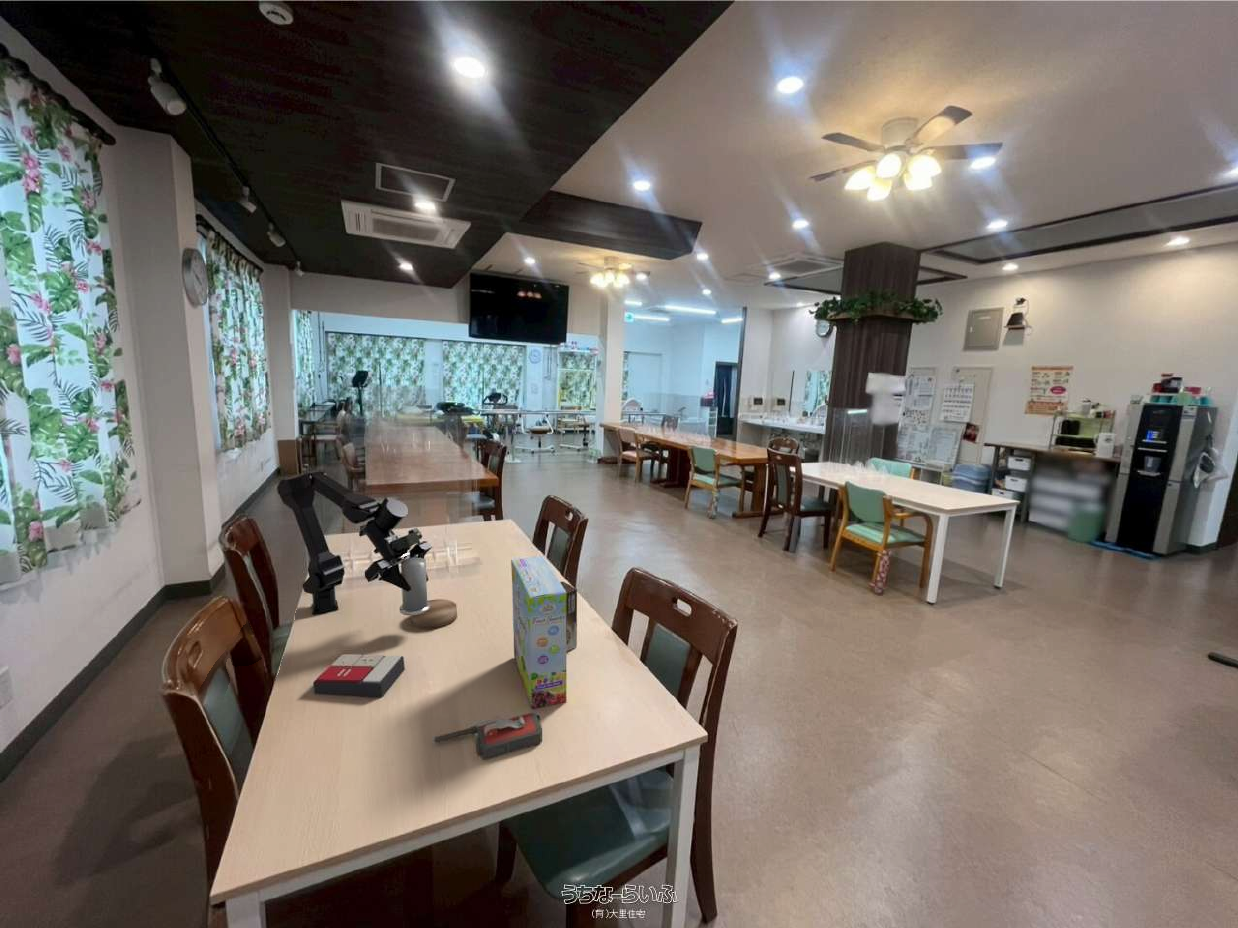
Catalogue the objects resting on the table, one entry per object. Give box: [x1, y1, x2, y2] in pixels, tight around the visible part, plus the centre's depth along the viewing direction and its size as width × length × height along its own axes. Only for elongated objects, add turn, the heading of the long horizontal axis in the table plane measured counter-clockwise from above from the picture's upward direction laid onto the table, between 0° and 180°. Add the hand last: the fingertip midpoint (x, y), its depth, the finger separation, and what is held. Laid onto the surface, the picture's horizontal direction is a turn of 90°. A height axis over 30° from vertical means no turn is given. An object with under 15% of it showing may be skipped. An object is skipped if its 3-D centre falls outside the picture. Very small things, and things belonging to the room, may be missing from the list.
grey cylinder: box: [399, 558, 431, 616], centre depth 135 cm, size 8×8×13 cm
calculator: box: [312, 654, 406, 699], centre depth 115 cm, size 11×4×15 cm
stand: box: [410, 598, 458, 630], centre depth 144 cm, size 12×12×3 cm
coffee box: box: [559, 581, 578, 652], centre depth 130 cm, size 9×6×16 cm
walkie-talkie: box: [434, 712, 543, 761], centre depth 98 cm, size 9×4×20 cm
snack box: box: [510, 555, 567, 710], centre depth 116 cm, size 22×9×26 cm, turn 22°
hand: (418, 585), depth 134 cm, fingers closed on grey cylinder, 6 cm apart
